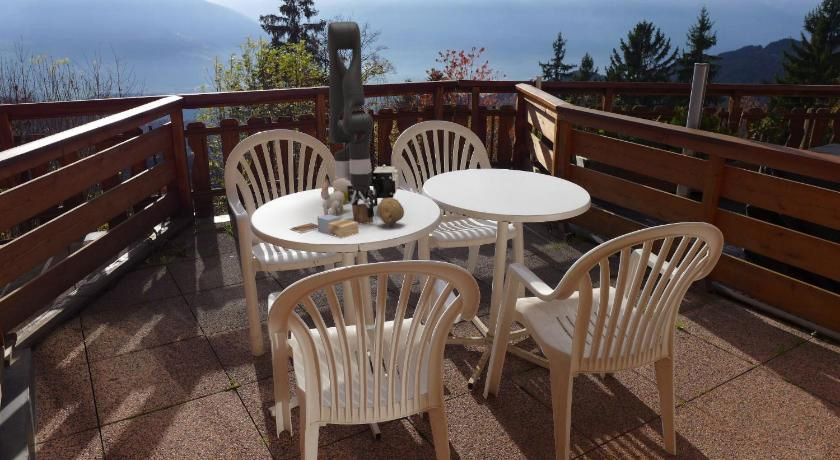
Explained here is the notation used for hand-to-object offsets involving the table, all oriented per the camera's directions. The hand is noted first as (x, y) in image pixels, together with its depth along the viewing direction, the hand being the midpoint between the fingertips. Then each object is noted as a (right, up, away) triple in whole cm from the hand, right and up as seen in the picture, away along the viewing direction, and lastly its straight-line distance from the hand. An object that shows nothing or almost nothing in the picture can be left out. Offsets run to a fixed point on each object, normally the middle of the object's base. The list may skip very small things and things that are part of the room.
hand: (363, 215), depth 206 cm
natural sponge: (+11, -4, -5) cm, 12 cm away
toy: (-11, 0, +11) cm, 15 cm away
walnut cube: (0, -2, +1) cm, 2 cm away
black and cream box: (+8, +2, +15) cm, 17 cm away
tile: (-19, -5, -6) cm, 21 cm away
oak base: (-5, -7, -13) cm, 16 cm away
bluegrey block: (-13, -3, -8) cm, 15 cm away
